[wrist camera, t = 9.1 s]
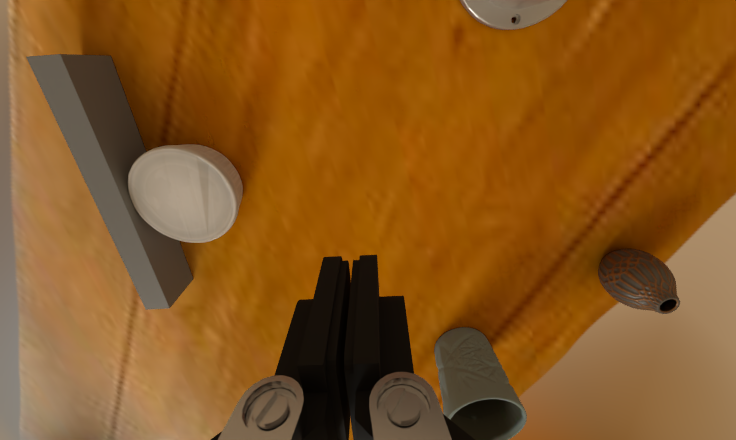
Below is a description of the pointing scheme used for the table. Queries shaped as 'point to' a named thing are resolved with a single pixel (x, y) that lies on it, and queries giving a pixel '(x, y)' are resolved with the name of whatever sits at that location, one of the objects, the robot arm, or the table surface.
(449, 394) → the blue-grey plant pot
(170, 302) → the board
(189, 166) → the ramekin
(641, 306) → the vase
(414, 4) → the table surface
